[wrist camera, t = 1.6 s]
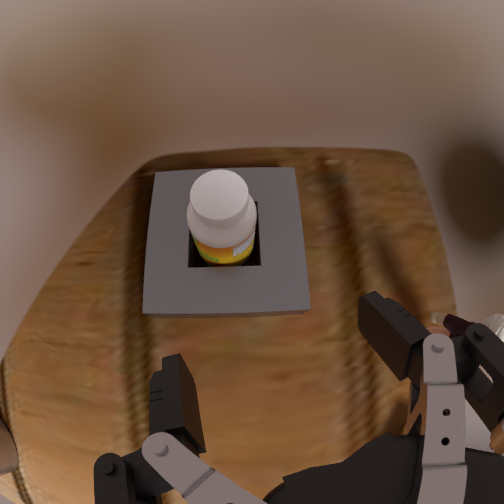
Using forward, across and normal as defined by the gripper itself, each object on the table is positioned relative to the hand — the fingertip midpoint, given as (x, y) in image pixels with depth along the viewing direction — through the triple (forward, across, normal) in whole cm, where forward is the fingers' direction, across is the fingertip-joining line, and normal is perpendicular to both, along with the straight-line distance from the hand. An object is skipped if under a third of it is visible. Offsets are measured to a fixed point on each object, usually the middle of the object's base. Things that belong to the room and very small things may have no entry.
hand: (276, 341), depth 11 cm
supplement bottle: (+17, 0, +3) cm, 17 cm away
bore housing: (+17, 0, +3) cm, 17 cm away
